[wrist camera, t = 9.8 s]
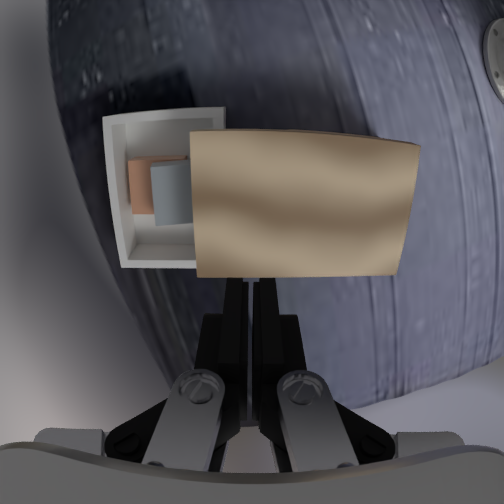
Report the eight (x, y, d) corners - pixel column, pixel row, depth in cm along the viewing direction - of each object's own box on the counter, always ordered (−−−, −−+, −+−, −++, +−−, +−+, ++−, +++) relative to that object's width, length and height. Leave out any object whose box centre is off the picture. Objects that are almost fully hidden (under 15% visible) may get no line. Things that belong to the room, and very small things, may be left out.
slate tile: (213, 162, 24) (211, 158, 26) (150, 167, 23) (152, 162, 25) (214, 221, 26) (212, 213, 28) (155, 226, 25) (156, 217, 27)
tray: (119, 113, 25) (102, 116, 22) (226, 106, 26) (223, 107, 22) (133, 248, 32) (121, 267, 28) (227, 248, 32) (225, 268, 29)
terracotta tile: (183, 159, 25) (187, 155, 27) (127, 160, 25) (134, 156, 27) (185, 214, 28) (188, 207, 29) (132, 214, 27) (138, 207, 29)
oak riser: (203, 123, 26) (189, 131, 19) (378, 132, 27) (420, 145, 20) (206, 234, 31) (197, 277, 24) (365, 235, 32) (396, 274, 25)
